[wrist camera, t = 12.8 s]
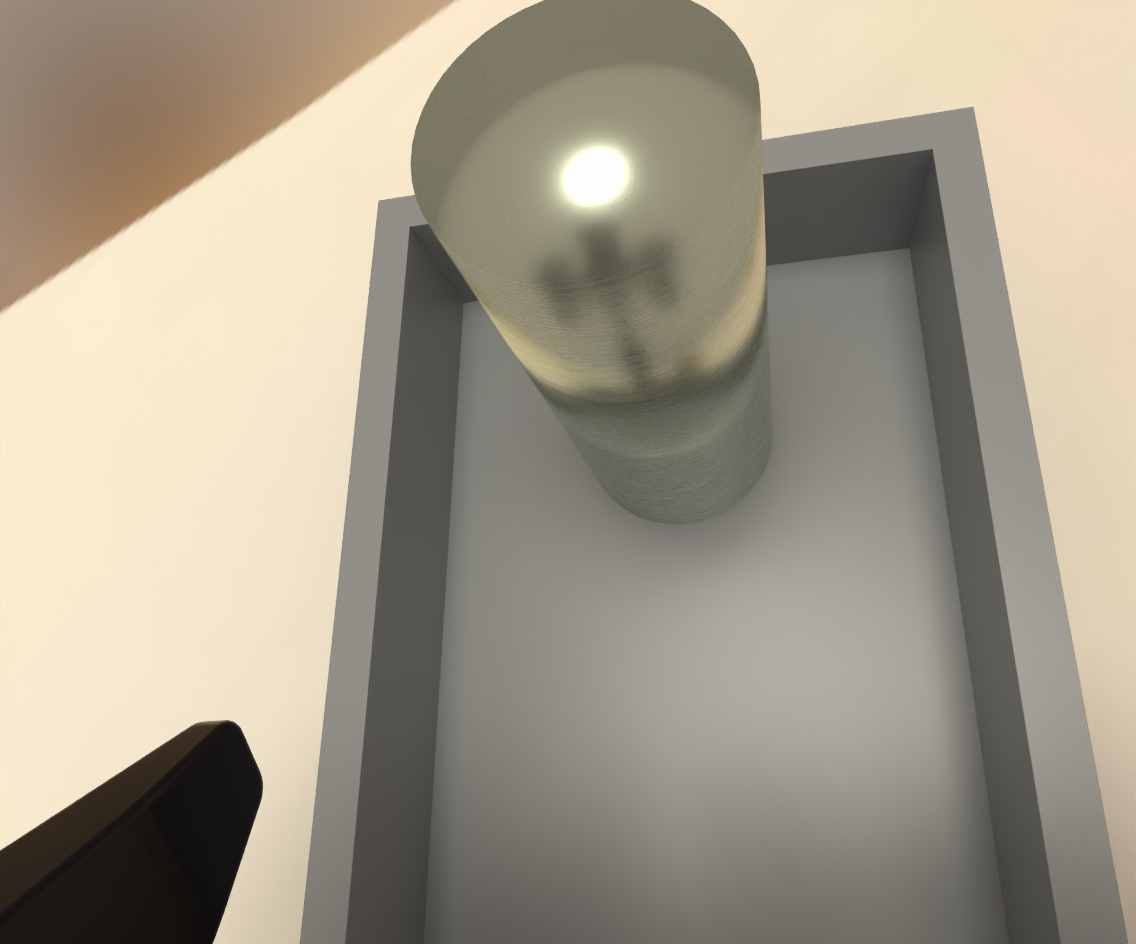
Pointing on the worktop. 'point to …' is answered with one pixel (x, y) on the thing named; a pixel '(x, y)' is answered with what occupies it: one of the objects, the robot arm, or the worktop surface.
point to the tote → (717, 617)
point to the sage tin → (617, 235)
